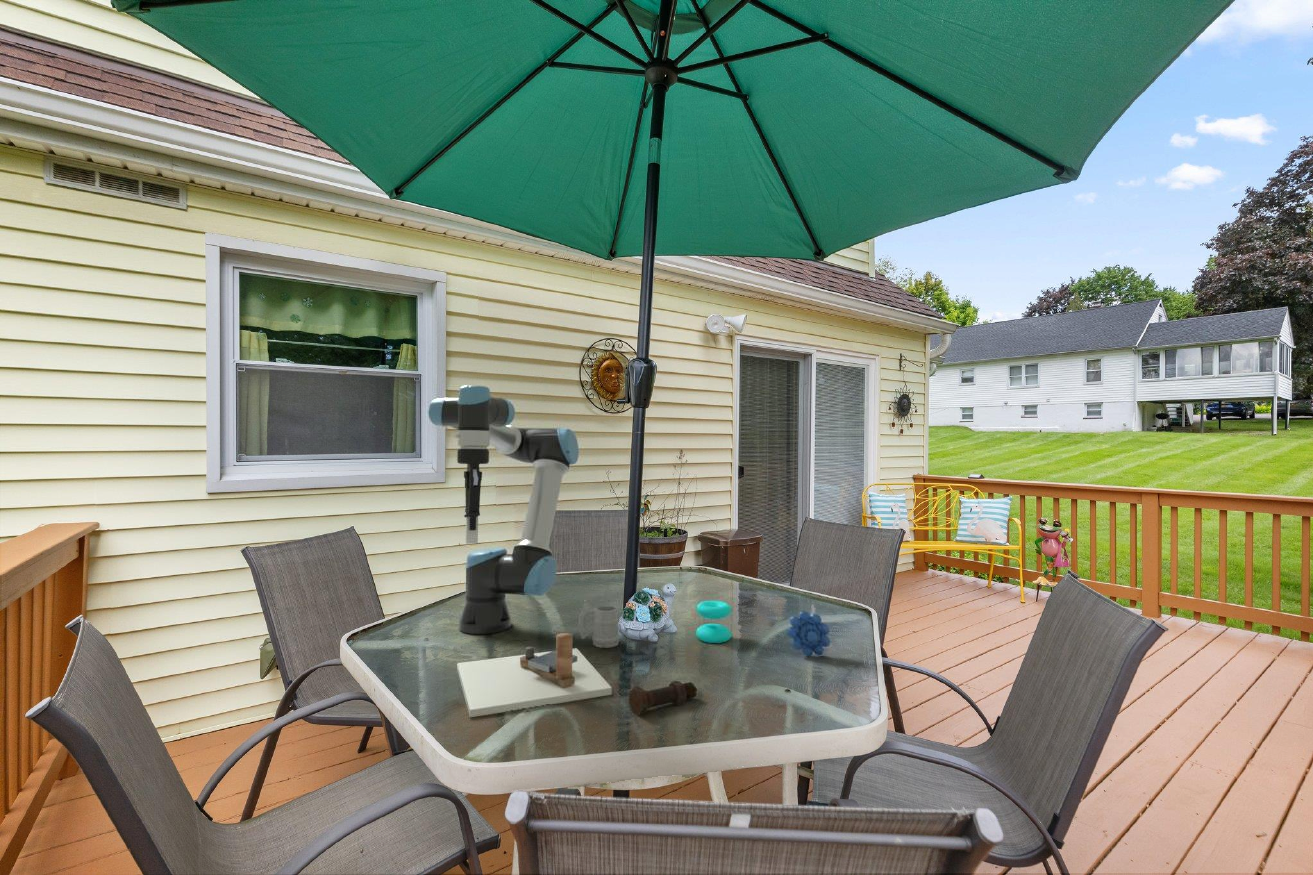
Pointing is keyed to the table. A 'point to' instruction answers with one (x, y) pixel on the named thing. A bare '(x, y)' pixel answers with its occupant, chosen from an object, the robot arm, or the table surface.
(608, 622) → the mug
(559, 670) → the link
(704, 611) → the donuts
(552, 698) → the base plate
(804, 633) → the blue knobby flower
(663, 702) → the bolt
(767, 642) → the table surface
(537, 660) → the block
